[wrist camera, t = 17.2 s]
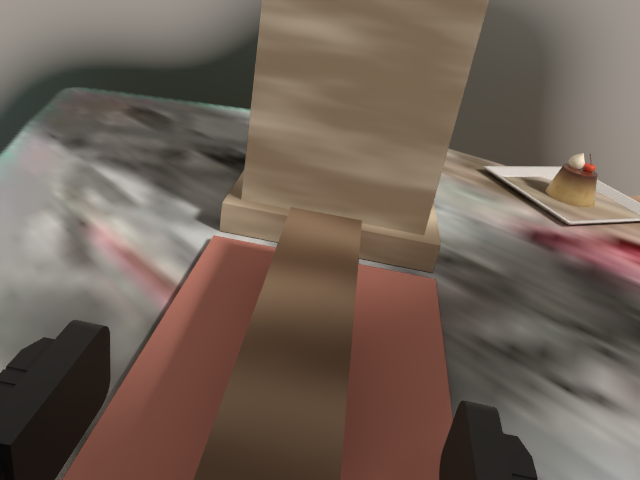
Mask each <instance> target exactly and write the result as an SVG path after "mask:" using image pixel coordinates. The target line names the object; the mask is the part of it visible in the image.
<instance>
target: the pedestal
mask: <svg viewBox="0 0 640 480" xmlns="http://www.w3.org/2000/svg"><path fill="white" fill-rule="evenodd" d="M488 2H489V0H262V9H261V19H260V29H259V37H258V48H257V56H256V65H255V75H254V84H253V94H252V103H251V112H250V122H249V131H248V141H247V150H246V160H245V169H244V171H243V172H242V174H241V175H240V177H239V178H238V180H237V181H236V183H235V184H234V186H233V187H232V189H231V190H230V192H229V193H228V195H227V196H226V198H225V199H224V201H223V202H222V209H221V220H220V231H223V232H228V233H233V234H239V235H244V236H249V237H254V238H259V239H264V240H269V241H274V242H279V239H280V236H281V233H282V231H283V228H284V225H285V222H286V219H287V217H288V214H289V211H290V208H291V207H294V208H299V209H304V210H310V211H315V212H320V213H325V214H331V215H336V216H341V217H347V218H352V219H357V220H362V227H361V239H360V251H359V258H360V259H365V260H370V261H375V262H381V263H386V264H391V265H396V266H401V267H406V268H411V269H416V270H421V271H426V272H431V273H433V270H434V267H435V263H436V260H437V257H438V253H439V250H440V246H441V245H440V238H439V231H438V225H437V218H436V212H435V205H434V198H435V194H436V191H437V187H438V184H439V180H440V176H441V173H442V169H443V165H444V162H445V158H446V155H447V151H448V147H449V143H450V140H451V136H452V133H453V129H454V125H455V121H456V118H457V115H458V110H459V107H460V104H461V100H462V96H463V92H464V89H465V85H466V82H467V78H468V74H469V71H470V67H471V63H472V60H473V56H474V52H475V49H476V45H477V42H478V38H479V35H480V31H481V27H482V24H483V20H484V16H485V13H486V9H487V5H488Z"/></svg>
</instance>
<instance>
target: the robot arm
mask: <svg viewBox="0 0 640 480" xmlns="http://www.w3.org/2000/svg"><path fill="white" fill-rule="evenodd" d="M109 385H110V331H109V328H108V327H107V326H103V325H98V324H93V323H88V322H83V321H78V320H73V321H71V322H70V323H69V324H68V325H67V326H66V327H65V329H64V330H63V331H62V332H61V333H60V334H59V335H58V337H57V338H56V339H50V338H45V337H44V338H42V339H40V340H38V341H37V342H35V343H33V344H31V345H29V346H28V347H26V348H24V349H22V350H21V351H20V352H19V353H18V354H17V355H16V357H15V358H14V359H13V360H12V361H11V362H10V363H9V364H8V365H7V367H6V369H5V370H4V369H3V371H2V372H1V373H0V480H55V478H56V477H57V475H58V474H59V472H60V471H61V469H62V467H63V466H64V464H65V463H66V461H67V460H68V458H69V457H70V455H71V453H72V452H73V450H74V449H75V447H76V446H77V444H78V443H79V441H80V439H81V438H82V436H83V435H84V433H85V432H86V430H87V429H88V427H89V425H90V424H91V422H92V421H93V419H94V418H95V416H96V415H97V413H98V411H99V410H100V408H101V407H102V405H103V403H104V401H105V398H106V396H107V393H108V389H109ZM537 479H538V478H537V474H536V470H535V467H534V463H533V459H532V456H531V455H530V454H529V452H528V451H527V449H526V448H525V446H524V445H523V444H522V442H521V441H520V439H519V438H518V436H513V435H508V434H503V431H502V427H501V422H500V417H499V413H498V410H497V409H496V408H495V407H491V406H486V405H481V404H477V403H472V402H467V401H461V402H460V404H459V406H458V408H457V411H456V414H455V417H454V419H453V422H452V425H451V428H450V430H449V433H448V436H447V439H446V442H445V444H444V447H443V450H442V454H441V459H440V468H439V480H537Z"/></svg>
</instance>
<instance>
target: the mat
mask: <svg viewBox="0 0 640 480" xmlns="http://www.w3.org/2000/svg"><path fill="white" fill-rule="evenodd" d="M275 250H276V248H275V247H270V246H265V245H260V244H255V243H250V242H244V241H239V240H234V239H229V238H224V237H219V236H213V237H212V239H211V241H210V242H209V244H208V246H207V247H206V249H205V250H204V252H203V254H202V255H201V257H200V258H199V260H198V262H197V263H196V265H195V266H194V268H193V270H192V271H191V273H190V275H189V276H188V278H187V279H186V281H185V283H184V284H183V286H182V287H181V289H180V291H179V292H178V294H177V295H176V297H175V299H174V300H173V302H172V303H171V305H170V307H169V308H168V310H167V312H166V313H165V315H164V316H163V318H162V320H161V321H160V323H159V324H158V326H157V328H156V329H155V331H154V332H153V334H152V336H151V337H150V339H149V341H148V342H147V344H146V345H145V347H144V349H143V350H142V352H141V353H140V355H139V357H138V358H137V360H136V361H135V363H134V365H133V366H132V368H131V370H130V371H129V373H128V374H127V376H126V378H125V379H124V381H123V382H122V384H121V386H120V387H119V389H118V390H117V392H116V394H115V395H114V397H113V399H112V400H111V402H110V403H109V405H108V407H107V408H106V410H105V411H104V413H103V415H102V416H101V418H100V419H99V421H98V423H97V424H96V426H95V427H94V429H93V431H92V432H91V434H90V436H89V437H88V439H87V440H86V442H85V444H84V445H83V447H82V448H81V450H80V452H79V453H78V455H77V456H76V458H75V460H74V461H73V463H72V465H71V466H70V468H69V469H68V471H67V473H66V474H65V476H64V477H63V479H62V480H194V477H195V474H196V471H197V468H198V466H199V463H200V460H201V457H202V454H203V452H204V449H205V446H206V443H207V440H208V438H209V435H210V432H211V429H212V426H213V424H214V421H215V418H216V415H217V412H218V410H219V407H220V404H221V401H222V399H223V396H224V393H225V390H226V387H227V385H228V382H229V379H230V376H231V373H232V371H233V368H234V365H235V362H236V359H237V357H238V354H239V351H240V348H241V345H242V343H243V340H244V337H245V334H246V331H247V329H248V326H249V323H250V320H251V317H252V315H253V312H254V309H255V306H256V303H257V301H258V298H259V295H260V292H261V289H262V287H263V284H264V281H265V278H266V275H267V273H268V270H269V267H270V264H271V261H272V259H273V256H274V253H275ZM452 422H453V416H452V408H451V400H450V391H449V383H448V375H447V367H446V359H445V351H444V342H443V334H442V326H441V318H440V310H439V302H438V294H437V285H436V279H432V278H427V277H422V276H417V275H412V274H407V273H401V272H396V271H391V270H386V269H381V268H376V267H371V266H366V265H361V264H358V274H357V286H356V298H355V310H354V322H353V334H352V346H351V358H350V370H349V381H348V393H347V405H346V417H345V429H344V441H343V453H342V465H341V477H340V480H439V468H440V459H441V454H442V450H443V447H444V444H445V442H446V439H447V436H448V433H449V430H450V428H451V425H452Z"/></svg>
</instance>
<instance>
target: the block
mask: <svg viewBox="0 0 640 480" xmlns="http://www.w3.org/2000/svg"><path fill="white" fill-rule="evenodd" d="M361 227H362V220H357V219H352V218H347V217H341V216H336V215H331V214H325V213H320V212H315V211H310V210H304V209H299V208H294V207H291V208H290V211H289V214H288V217H287V219H286V222H285V225H284V228H283V231H282V233H281V236H280V239H279V242H278V245H277V247H276V250H275V253H274V256H273V259H272V261H271V264H270V267H269V270H268V273H267V275H266V278H265V281H264V284H263V287H262V289H261V292H260V295H259V298H258V301H257V303H256V306H255V309H254V312H253V315H252V317H251V320H250V323H249V326H248V329H247V331H246V334H245V337H244V340H243V343H242V345H241V348H240V351H239V354H238V357H237V359H236V362H235V365H234V368H233V371H232V373H231V376H230V379H229V382H228V385H227V387H226V390H225V393H224V396H223V399H222V401H221V404H220V407H219V410H218V412H217V415H216V418H215V421H214V424H213V426H212V429H211V432H210V435H209V438H208V440H207V443H206V446H205V449H204V452H203V454H202V457H201V460H200V463H199V466H198V468H197V471H196V474H195V477H194V480H340V477H341V465H342V453H343V441H344V429H345V417H346V405H347V393H348V381H349V370H350V358H351V346H352V334H353V322H354V310H355V298H356V286H357V274H358V262H359V251H360V239H361Z"/></svg>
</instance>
